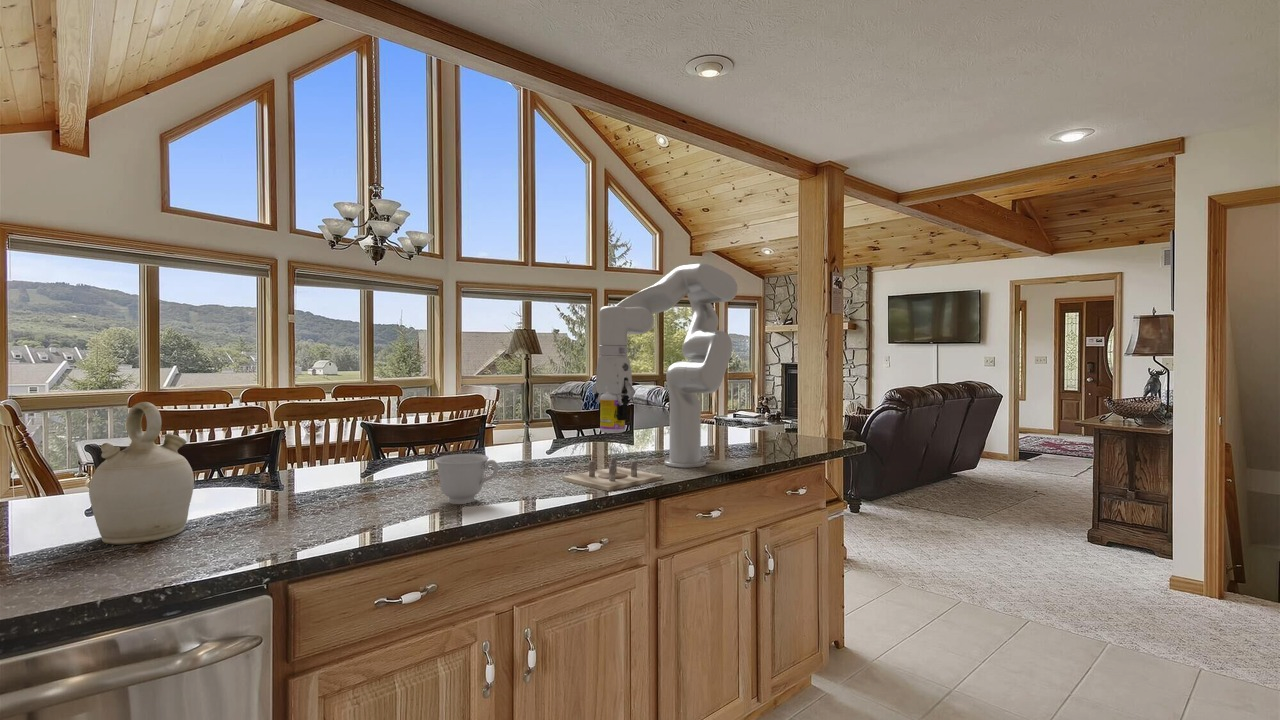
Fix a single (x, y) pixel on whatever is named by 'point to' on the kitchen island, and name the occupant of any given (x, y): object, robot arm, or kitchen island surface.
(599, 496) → the kitchen island surface
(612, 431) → the supplement bottle
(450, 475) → the teacup
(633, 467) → the holder
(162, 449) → the jug
